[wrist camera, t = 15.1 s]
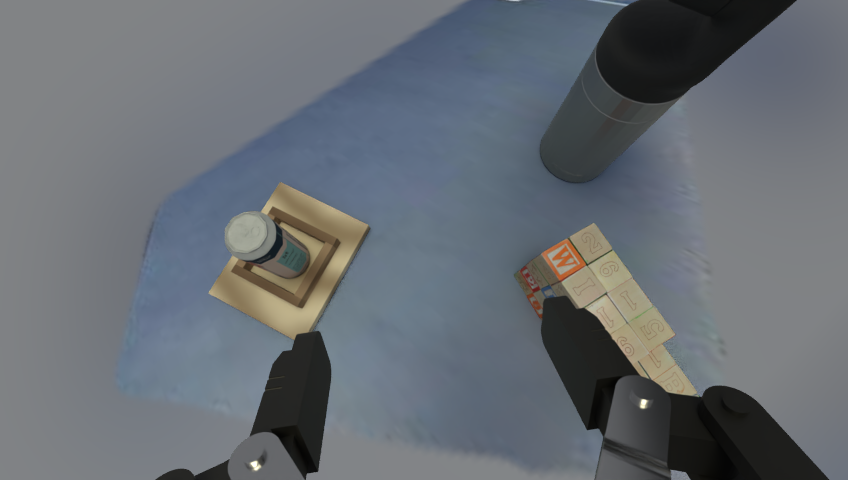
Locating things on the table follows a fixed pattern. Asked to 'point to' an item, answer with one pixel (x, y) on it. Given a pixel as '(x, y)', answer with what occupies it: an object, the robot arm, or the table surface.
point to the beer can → (266, 245)
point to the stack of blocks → (606, 302)
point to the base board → (310, 291)
